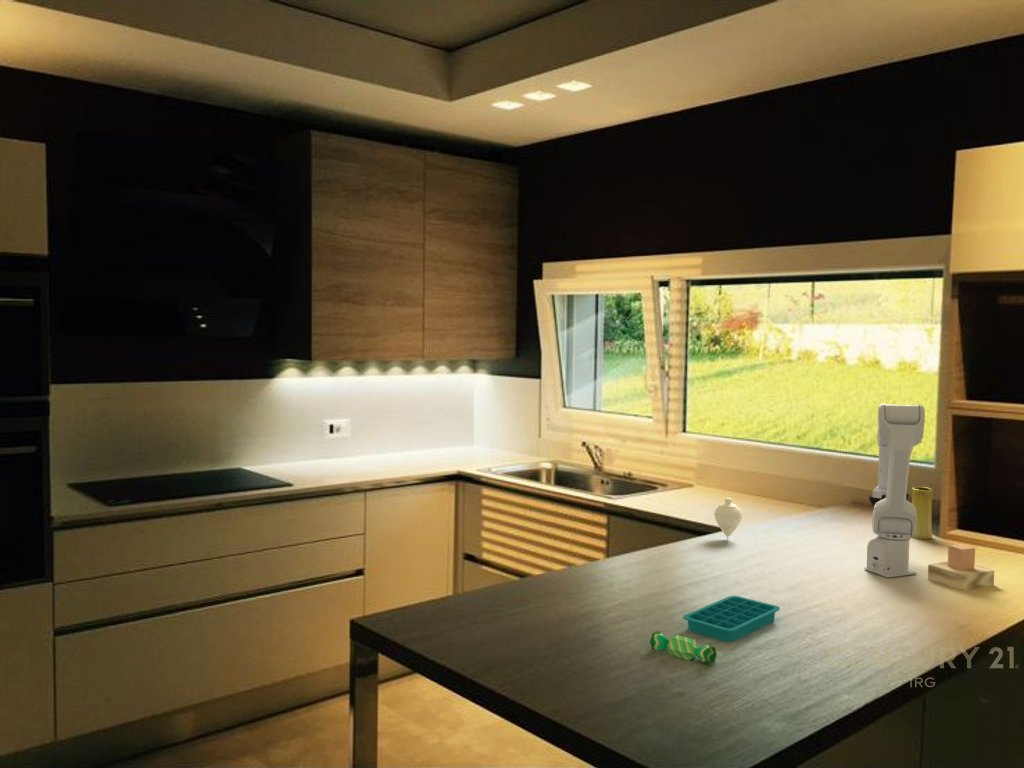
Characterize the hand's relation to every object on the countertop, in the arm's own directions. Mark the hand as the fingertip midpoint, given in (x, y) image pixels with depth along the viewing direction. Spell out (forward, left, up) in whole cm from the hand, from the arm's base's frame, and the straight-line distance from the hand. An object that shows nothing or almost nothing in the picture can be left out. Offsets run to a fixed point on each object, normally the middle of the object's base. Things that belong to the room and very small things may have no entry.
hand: (888, 521), depth 228 cm
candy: (-88, -41, -10) cm, 98 cm away
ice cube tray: (-70, -30, -10) cm, 77 cm away
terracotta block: (-1, -24, -6) cm, 25 cm away
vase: (+25, +13, -10) cm, 30 cm away
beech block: (-1, -24, -10) cm, 26 cm away
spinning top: (-30, +30, -10) cm, 43 cm away
